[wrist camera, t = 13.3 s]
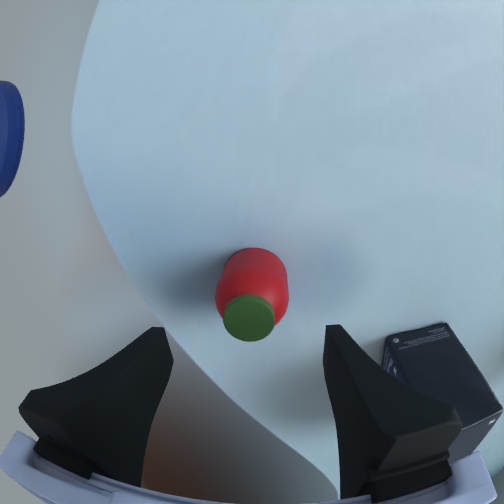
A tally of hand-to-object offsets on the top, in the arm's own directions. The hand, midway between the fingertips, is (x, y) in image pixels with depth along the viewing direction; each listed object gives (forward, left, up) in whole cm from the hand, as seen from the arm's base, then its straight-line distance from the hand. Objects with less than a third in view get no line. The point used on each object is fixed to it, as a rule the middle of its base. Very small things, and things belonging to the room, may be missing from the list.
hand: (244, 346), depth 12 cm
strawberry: (0, 0, -7) cm, 7 cm away
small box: (+12, -12, -7) cm, 19 cm away
